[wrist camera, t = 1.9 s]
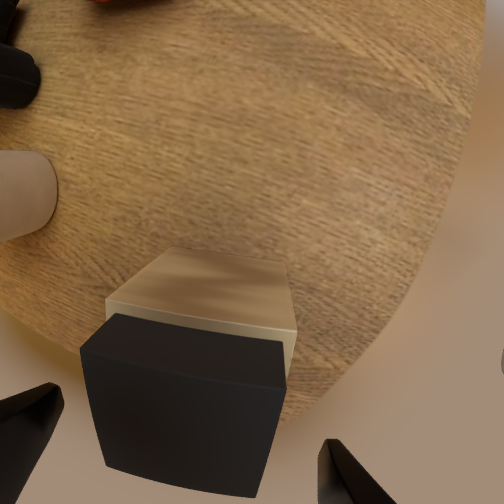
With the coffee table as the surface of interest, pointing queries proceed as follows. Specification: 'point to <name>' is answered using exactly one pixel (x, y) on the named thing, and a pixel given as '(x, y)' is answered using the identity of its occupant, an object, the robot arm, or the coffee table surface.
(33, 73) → the film camera
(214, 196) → the coffee table surface
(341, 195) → the coffee table surface
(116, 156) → the coffee table surface
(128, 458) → the black block
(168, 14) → the coffee table surface
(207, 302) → the beige wooden block
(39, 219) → the candle
